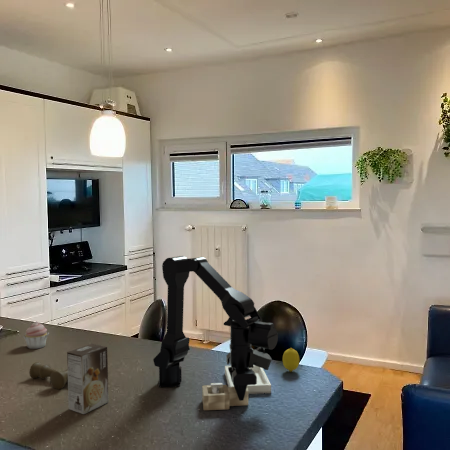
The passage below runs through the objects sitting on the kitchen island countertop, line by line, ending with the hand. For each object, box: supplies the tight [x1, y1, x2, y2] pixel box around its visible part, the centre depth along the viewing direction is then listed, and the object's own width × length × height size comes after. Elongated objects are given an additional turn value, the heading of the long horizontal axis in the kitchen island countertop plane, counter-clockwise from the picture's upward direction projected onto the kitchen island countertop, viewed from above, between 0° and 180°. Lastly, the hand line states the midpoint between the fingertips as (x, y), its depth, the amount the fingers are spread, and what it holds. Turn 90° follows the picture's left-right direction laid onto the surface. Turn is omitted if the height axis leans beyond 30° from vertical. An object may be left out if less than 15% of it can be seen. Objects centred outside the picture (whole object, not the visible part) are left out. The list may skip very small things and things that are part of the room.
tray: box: [224, 365, 272, 395], centre depth 147 cm, size 17×12×2 cm
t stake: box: [210, 382, 224, 393], centre depth 131 cm, size 4×4×6 cm
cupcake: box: [23, 321, 50, 350], centre depth 183 cm, size 9×9×10 cm
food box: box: [66, 343, 109, 415], centre depth 130 cm, size 9×6×16 cm
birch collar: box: [201, 384, 249, 411], centre depth 131 cm, size 12×7×4 cm, turn 96°
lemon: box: [282, 347, 300, 373], centre depth 156 cm, size 6×6×8 cm
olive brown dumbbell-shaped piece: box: [29, 361, 68, 390], centre depth 148 cm, size 6×10×20 cm
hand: (240, 397), depth 132 cm, fingers closed on birch collar, 3 cm apart
